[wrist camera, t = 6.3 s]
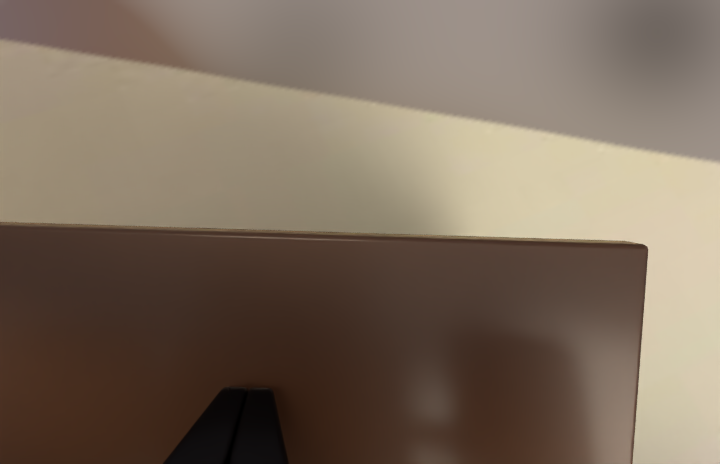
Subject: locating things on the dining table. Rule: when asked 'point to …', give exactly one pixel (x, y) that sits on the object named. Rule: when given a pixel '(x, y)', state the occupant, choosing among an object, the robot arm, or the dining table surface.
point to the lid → (319, 343)
